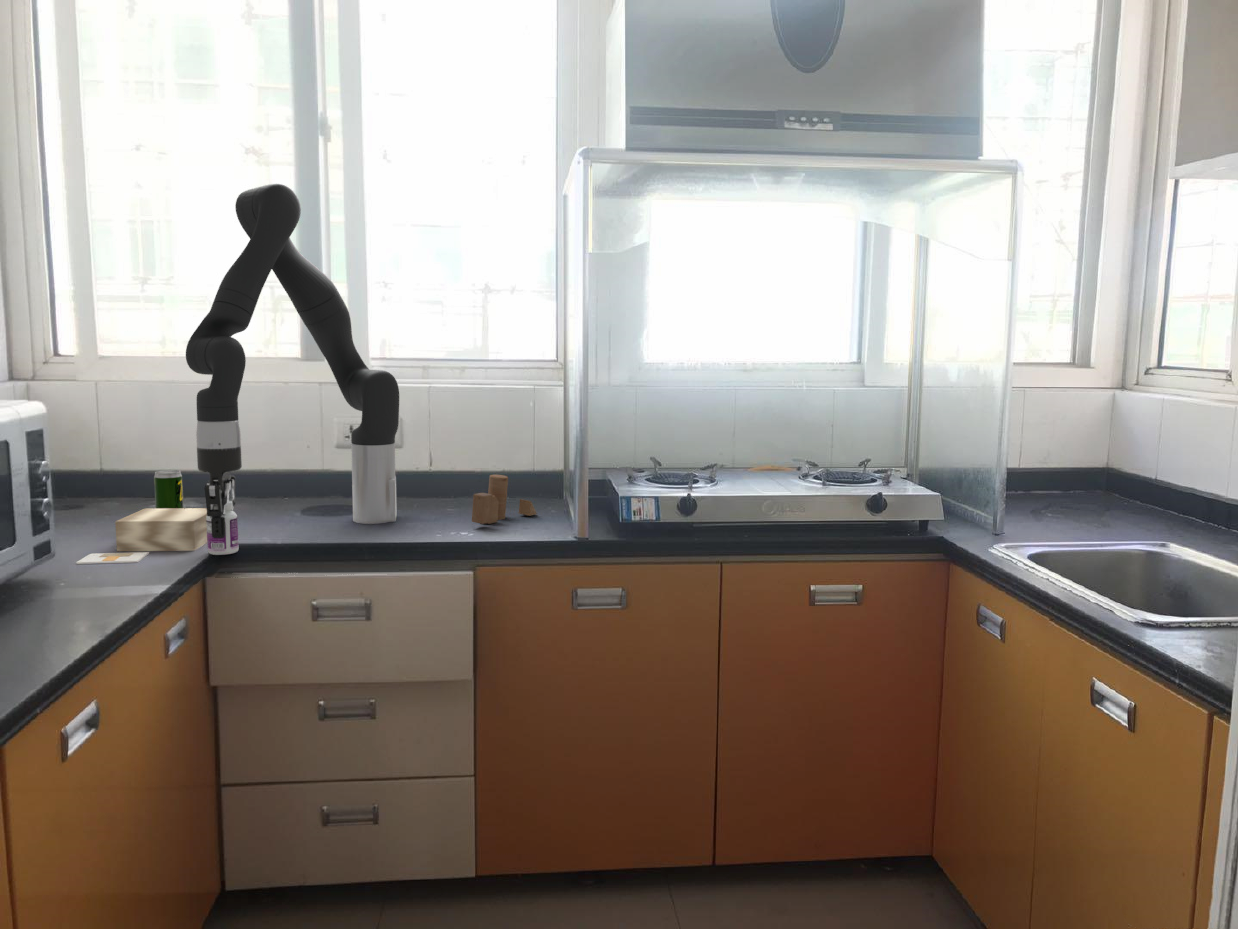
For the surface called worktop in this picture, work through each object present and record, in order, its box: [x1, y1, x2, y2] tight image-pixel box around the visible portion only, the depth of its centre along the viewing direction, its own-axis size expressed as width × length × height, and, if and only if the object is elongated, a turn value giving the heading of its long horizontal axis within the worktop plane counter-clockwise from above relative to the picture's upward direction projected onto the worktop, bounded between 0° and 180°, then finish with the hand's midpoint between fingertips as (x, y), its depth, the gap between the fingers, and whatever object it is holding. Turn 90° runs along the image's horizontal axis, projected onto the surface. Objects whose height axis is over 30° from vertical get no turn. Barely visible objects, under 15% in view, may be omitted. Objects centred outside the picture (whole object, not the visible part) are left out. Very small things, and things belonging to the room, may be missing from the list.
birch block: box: [114, 507, 207, 552], centre depth 180 cm, size 14×14×6 cm
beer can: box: [153, 469, 185, 508], centre depth 194 cm, size 5×5×12 cm
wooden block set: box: [471, 474, 538, 525], centre depth 204 cm, size 18×9×10 cm, turn 151°
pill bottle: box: [206, 501, 240, 556], centre depth 172 cm, size 5×5×10 cm
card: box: [75, 551, 150, 565], centre depth 166 cm, size 10×7×1 cm
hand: (222, 534), depth 172 cm, fingers closed on pill bottle, 5 cm apart
